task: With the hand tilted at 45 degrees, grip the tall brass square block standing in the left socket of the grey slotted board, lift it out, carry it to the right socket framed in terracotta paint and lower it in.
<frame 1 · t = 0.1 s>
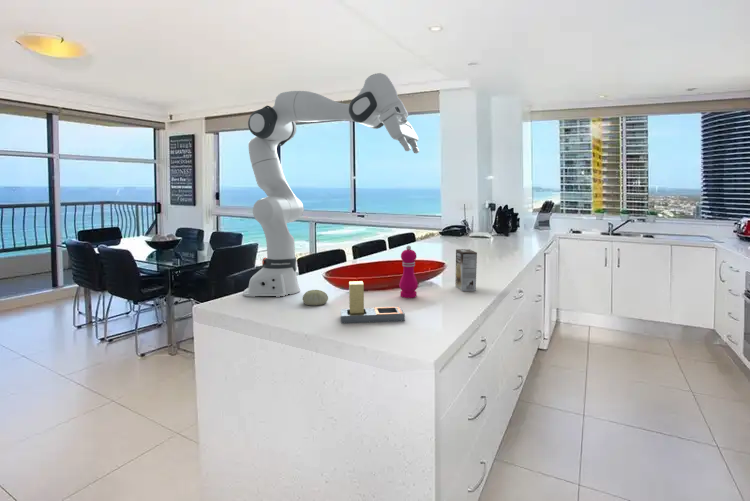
hand: (413, 151, 150), 54 cm above the countertop, tool tilted 30°, fingers open, 8 cm apart
grey slotted board: (372, 318, 141), on the countertop
brass block: (356, 319, 140), resting in grey slotted board
coffee box: (465, 289, 183), on the countertop
pepper mill: (408, 296, 170), on the countertop
sea urchin shell: (315, 304, 161), on the countertop
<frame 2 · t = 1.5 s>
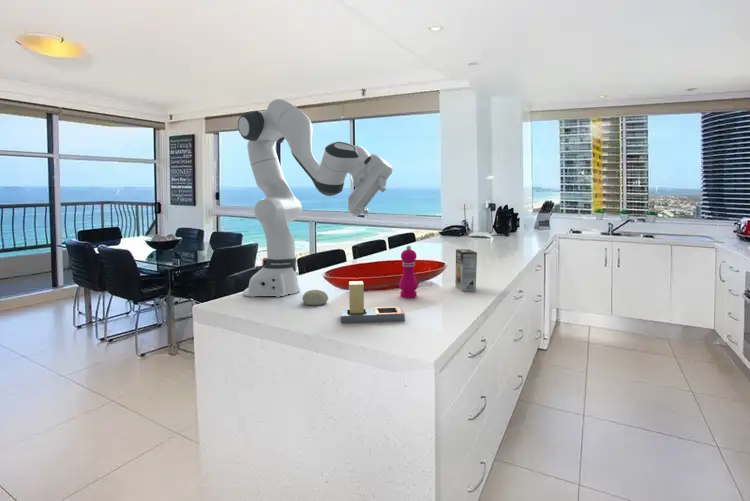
hand: (374, 201, 134), 38 cm above the countertop, tool tilted 55°, fingers open, 8 cm apart
nothing on the countertop moved.
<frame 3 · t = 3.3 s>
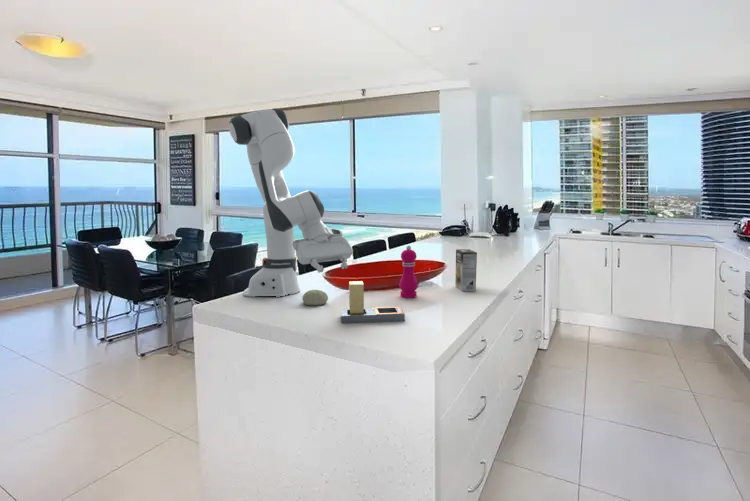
hand: (333, 269, 145), 15 cm above the countertop, tool tilted 45°, fingers open, 8 cm apart
nothing on the countertop moved.
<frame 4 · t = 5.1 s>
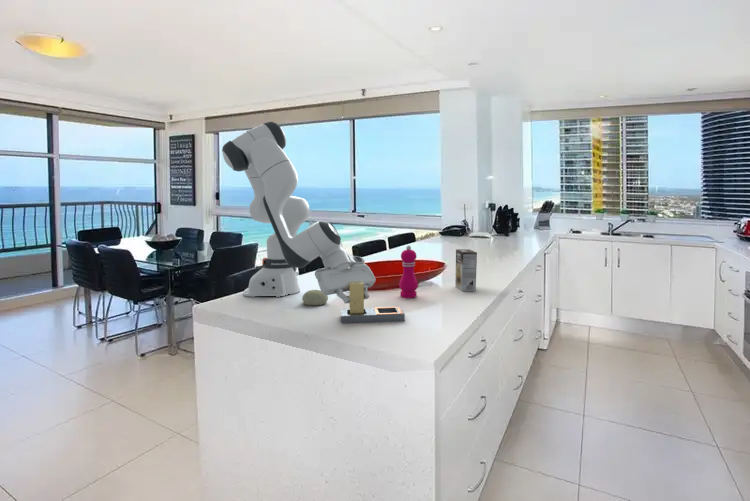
hand: (357, 300, 139), 6 cm above the countertop, tool tilted 45°, fingers closed on brass block, 6 cm apart
brass block: (356, 319, 140), resting in grey slotted board, touching gripper
everything else where it was.
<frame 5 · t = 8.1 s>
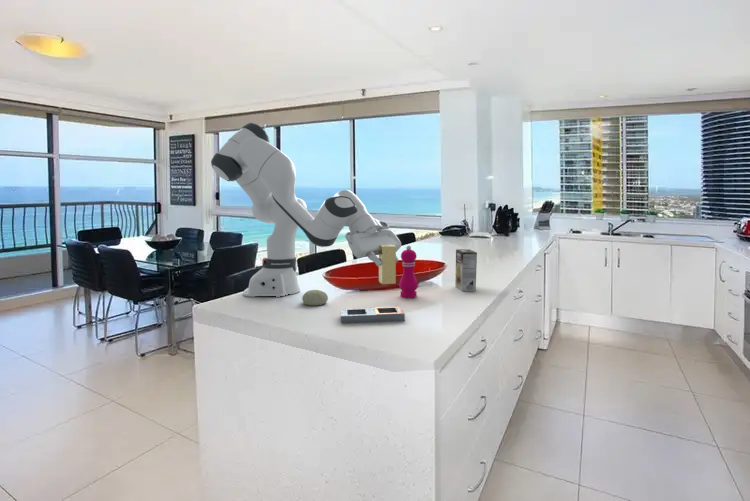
hand: (388, 263, 138), 18 cm above the countertop, tool tilted 45°, fingers closed on brass block, 6 cm apart
brass block: (387, 282, 140), point 12 cm above the countertop, touching gripper
everything else where it was.
when the fingers open (8 cm above the countertop, at t = 10.9 s): brass block drops 1 cm, resting in grey slotted board.
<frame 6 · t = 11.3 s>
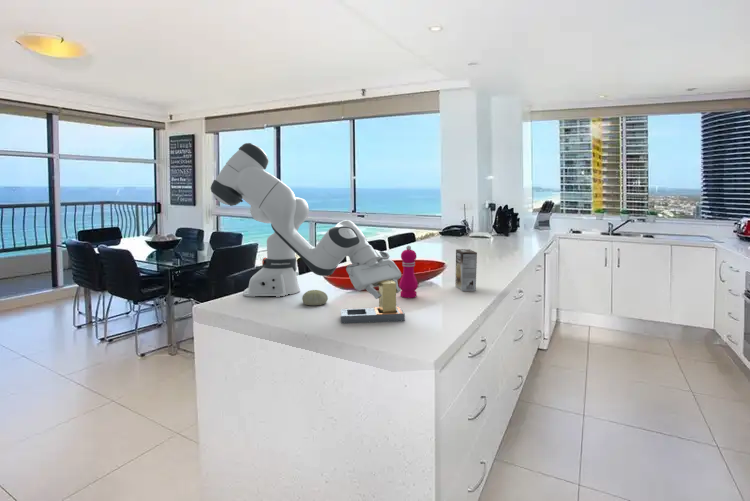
hand: (388, 294, 140), 8 cm above the countertop, tool tilted 45°, fingers open, 8 cm apart
brass block: (387, 318, 141), resting in grey slotted board
everything else where it was.
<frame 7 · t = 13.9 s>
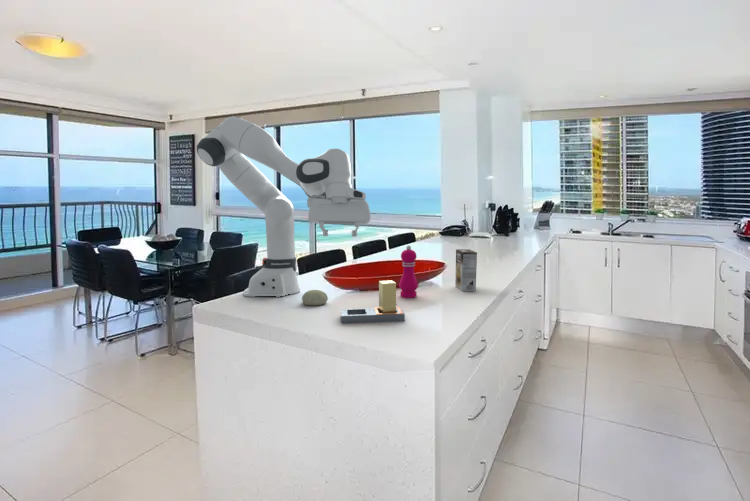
hand: (340, 236, 141), 27 cm above the countertop, tool tilted 20°, fingers open, 8 cm apart
nothing on the countertop moved.
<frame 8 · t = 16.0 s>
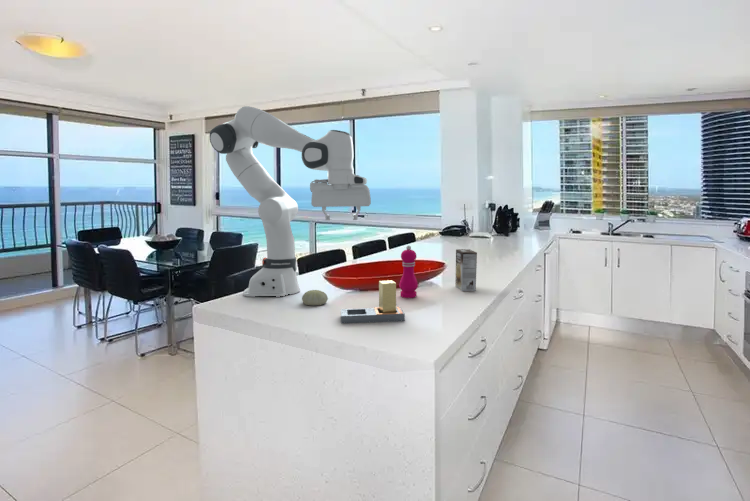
hand: (341, 220, 149), 31 cm above the countertop, tool pointing down, fingers open, 8 cm apart
nothing on the countertop moved.
at the end: brass block 0.0 cm from the target spot on the grey slotted board, point 0.0 cm above the grey slotted board's base; brass block tilted 0°; the gripper is holding nothing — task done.
